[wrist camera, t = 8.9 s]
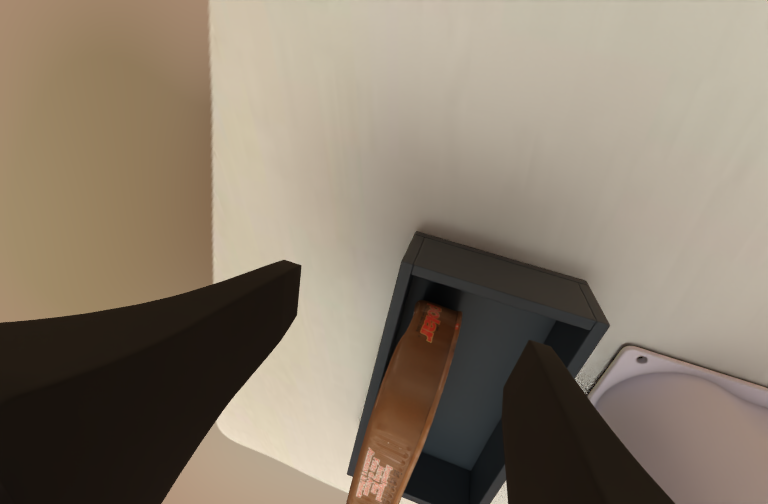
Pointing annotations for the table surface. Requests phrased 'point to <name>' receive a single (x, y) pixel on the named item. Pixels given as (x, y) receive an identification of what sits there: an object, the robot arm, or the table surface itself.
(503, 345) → the bin
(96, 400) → the robot arm
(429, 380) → the tin
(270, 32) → the table surface
